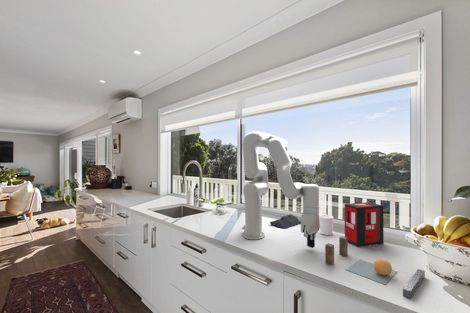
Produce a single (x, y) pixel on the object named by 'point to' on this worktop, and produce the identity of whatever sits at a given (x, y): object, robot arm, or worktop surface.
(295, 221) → the dark slate chunk
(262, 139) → the robot arm
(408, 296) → the wall
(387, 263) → the ball
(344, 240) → the post
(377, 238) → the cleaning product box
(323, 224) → the white cup
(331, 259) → the post
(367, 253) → the worktop surface
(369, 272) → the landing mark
